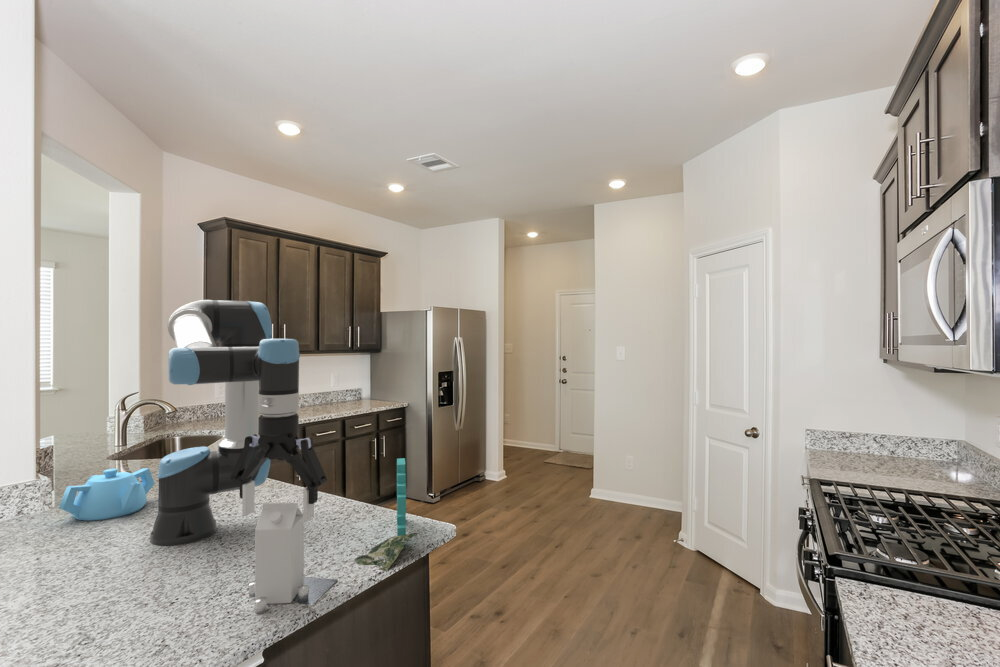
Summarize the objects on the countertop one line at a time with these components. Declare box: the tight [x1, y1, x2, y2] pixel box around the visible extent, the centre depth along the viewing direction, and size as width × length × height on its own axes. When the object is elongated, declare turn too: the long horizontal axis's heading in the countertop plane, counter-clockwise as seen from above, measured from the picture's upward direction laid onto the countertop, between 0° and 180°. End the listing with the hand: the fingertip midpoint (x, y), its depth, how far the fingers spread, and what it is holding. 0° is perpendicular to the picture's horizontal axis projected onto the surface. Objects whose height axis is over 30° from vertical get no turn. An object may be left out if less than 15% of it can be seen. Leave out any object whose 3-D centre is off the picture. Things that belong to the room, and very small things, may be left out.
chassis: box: [247, 576, 339, 615], centre depth 98 cm, size 17×17×4 cm
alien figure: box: [396, 457, 407, 547], centre depth 134 cm, size 20×2×20 cm, turn 13°
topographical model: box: [354, 532, 419, 572], centre depth 118 cm, size 16×15×2 cm
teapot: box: [58, 467, 156, 521], centre depth 148 cm, size 19×19×14 cm
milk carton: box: [254, 502, 305, 605], centre depth 99 cm, size 7×7×19 cm
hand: (278, 516), depth 98 cm, fingers open, 13 cm apart
